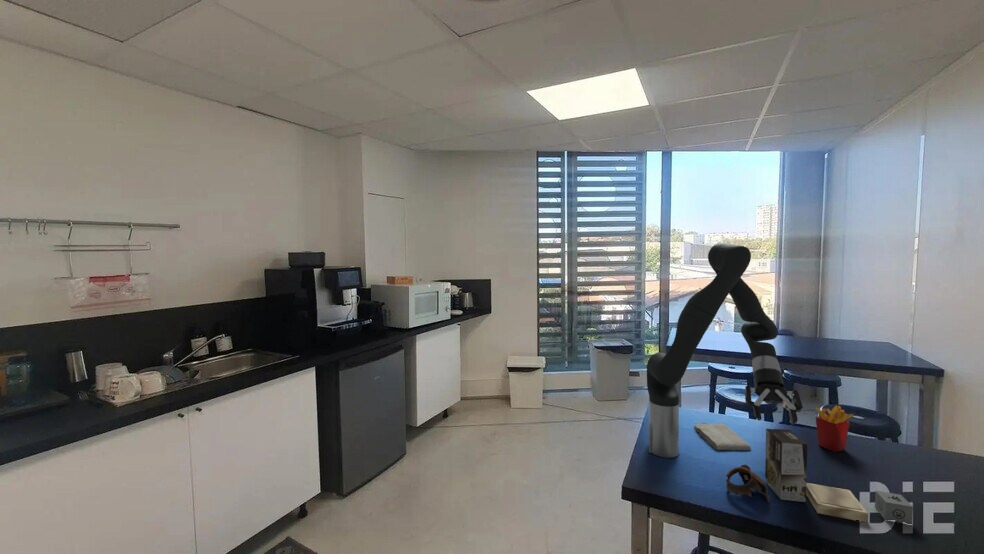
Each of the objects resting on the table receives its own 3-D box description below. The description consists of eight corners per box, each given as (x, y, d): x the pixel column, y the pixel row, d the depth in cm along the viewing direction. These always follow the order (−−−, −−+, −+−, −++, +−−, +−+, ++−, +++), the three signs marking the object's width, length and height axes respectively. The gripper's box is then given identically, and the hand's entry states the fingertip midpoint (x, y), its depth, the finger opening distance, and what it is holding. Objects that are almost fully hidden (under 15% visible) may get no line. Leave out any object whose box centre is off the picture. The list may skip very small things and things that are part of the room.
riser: (817, 513, 100) (817, 503, 100) (803, 490, 110) (804, 481, 109) (867, 522, 96) (868, 512, 96) (849, 499, 106) (849, 489, 105)
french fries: (813, 444, 135) (814, 402, 134) (830, 440, 137) (832, 399, 136) (842, 457, 127) (844, 412, 126) (860, 453, 129) (862, 409, 128)
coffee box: (807, 502, 104) (809, 444, 103) (780, 500, 106) (781, 442, 105) (788, 482, 113) (790, 429, 112) (763, 480, 115) (765, 427, 114)
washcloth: (722, 428, 150) (722, 420, 150) (752, 452, 132) (752, 443, 132) (691, 428, 150) (691, 420, 150) (717, 452, 132) (717, 443, 132)
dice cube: (912, 526, 95) (912, 506, 95) (885, 521, 97) (886, 502, 97) (900, 513, 100) (900, 494, 99) (874, 509, 102) (875, 490, 101)
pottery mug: (776, 511, 102) (761, 486, 101) (737, 516, 107) (723, 491, 106) (766, 476, 112) (752, 453, 112) (731, 482, 117) (718, 459, 116)
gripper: (743, 365, 127) (750, 413, 117) (796, 369, 122) (809, 419, 112) (739, 376, 132) (746, 423, 123) (790, 380, 127) (802, 430, 117)
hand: (776, 421), depth 117 cm, fingers open, 8 cm apart
